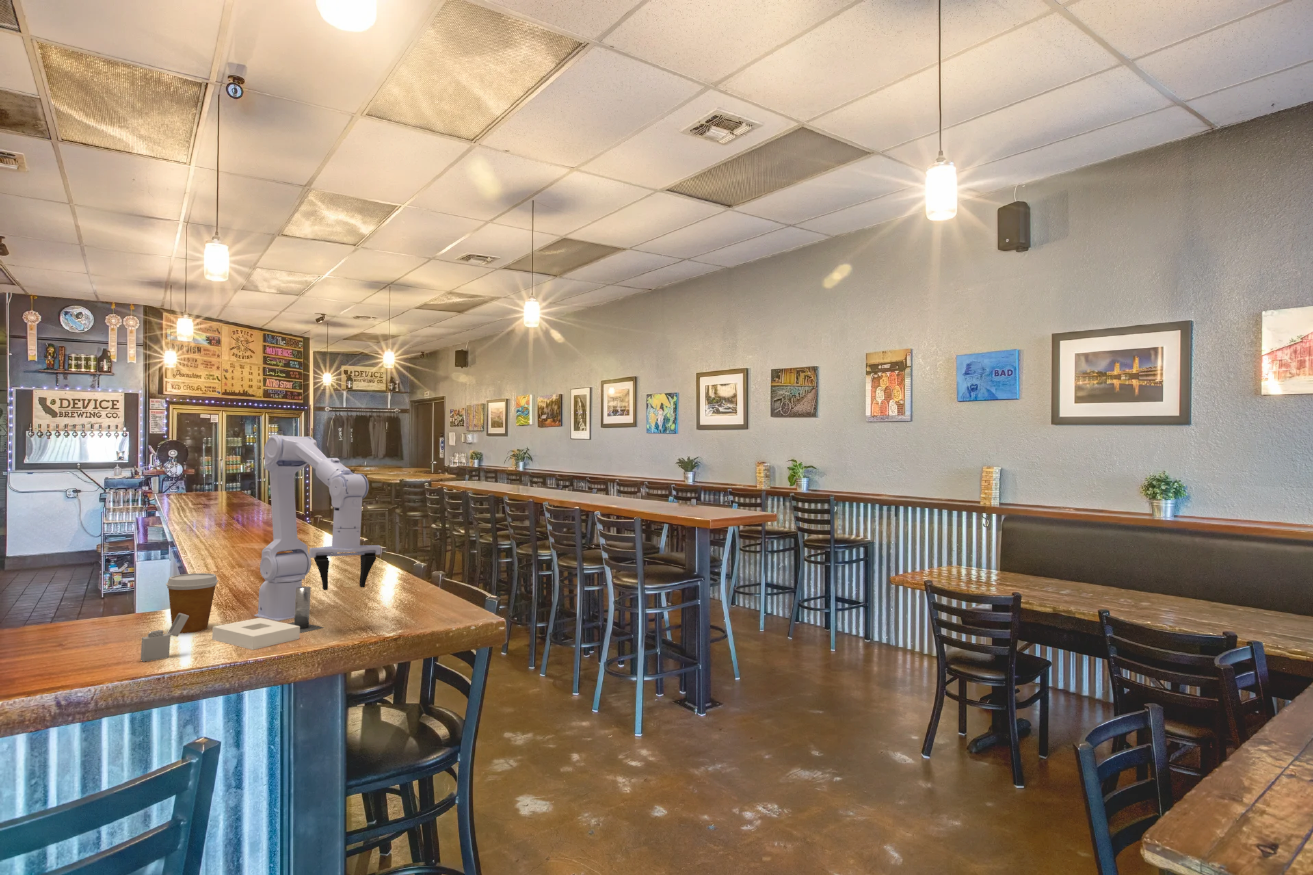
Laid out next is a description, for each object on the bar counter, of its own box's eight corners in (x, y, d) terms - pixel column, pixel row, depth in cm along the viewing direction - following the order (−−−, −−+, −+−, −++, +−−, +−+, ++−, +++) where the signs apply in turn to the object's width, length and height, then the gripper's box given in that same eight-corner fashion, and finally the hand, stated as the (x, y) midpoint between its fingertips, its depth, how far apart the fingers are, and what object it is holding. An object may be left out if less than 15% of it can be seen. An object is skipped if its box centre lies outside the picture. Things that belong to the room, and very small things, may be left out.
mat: (263, 630, 151) (263, 628, 151) (296, 623, 158) (296, 621, 158) (291, 636, 146) (291, 635, 146) (324, 629, 153) (324, 627, 153)
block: (211, 641, 141) (212, 626, 141) (259, 631, 150) (259, 617, 150) (252, 651, 134) (253, 636, 134) (299, 640, 143) (299, 626, 143)
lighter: (143, 662, 126) (145, 619, 126) (140, 660, 127) (142, 617, 127) (187, 654, 132) (189, 612, 132) (183, 652, 133) (185, 611, 133)
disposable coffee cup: (225, 629, 150) (228, 575, 151) (180, 639, 142) (183, 581, 142) (198, 624, 154) (201, 571, 155) (153, 633, 146) (156, 577, 146)
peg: (290, 628, 152) (292, 587, 152) (303, 625, 154) (305, 586, 155) (299, 630, 150) (301, 589, 151) (311, 627, 153) (313, 587, 153)
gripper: (314, 530, 144) (310, 594, 144) (384, 528, 153) (381, 588, 152) (309, 526, 150) (305, 588, 150) (377, 525, 158) (374, 583, 158)
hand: (343, 588), depth 151 cm, fingers open, 7 cm apart
